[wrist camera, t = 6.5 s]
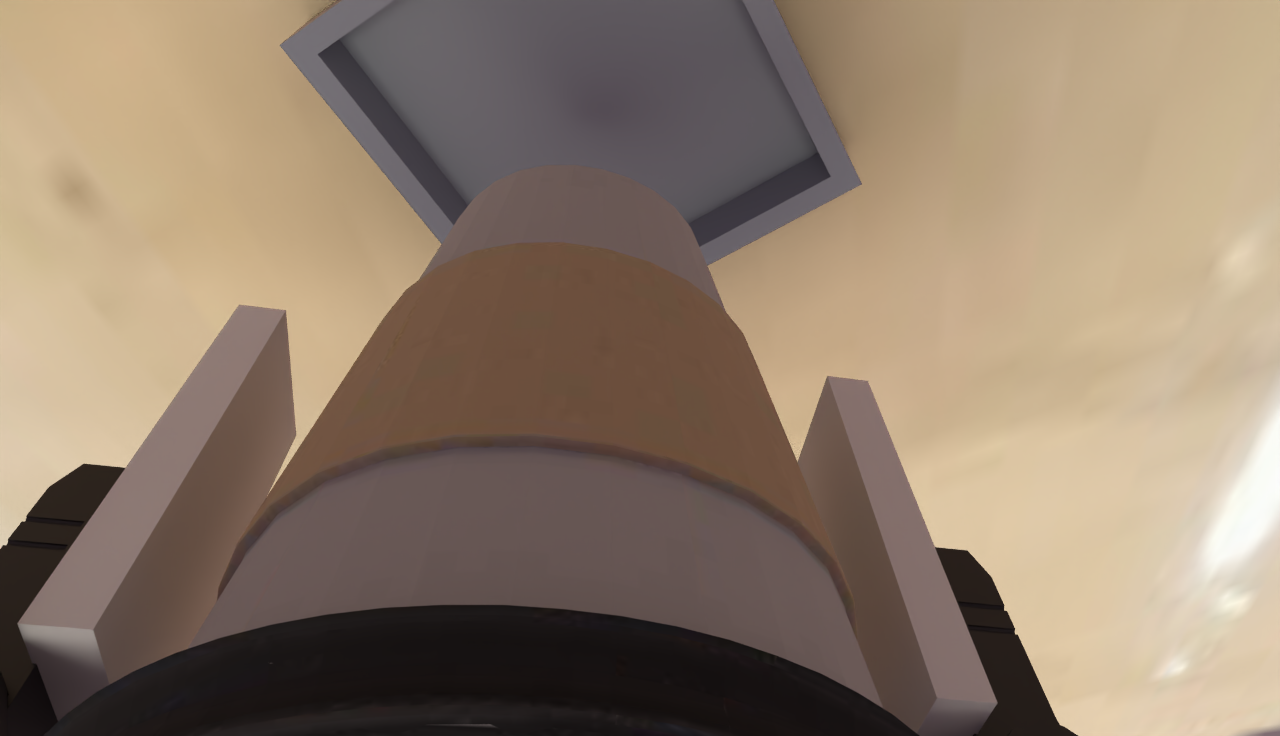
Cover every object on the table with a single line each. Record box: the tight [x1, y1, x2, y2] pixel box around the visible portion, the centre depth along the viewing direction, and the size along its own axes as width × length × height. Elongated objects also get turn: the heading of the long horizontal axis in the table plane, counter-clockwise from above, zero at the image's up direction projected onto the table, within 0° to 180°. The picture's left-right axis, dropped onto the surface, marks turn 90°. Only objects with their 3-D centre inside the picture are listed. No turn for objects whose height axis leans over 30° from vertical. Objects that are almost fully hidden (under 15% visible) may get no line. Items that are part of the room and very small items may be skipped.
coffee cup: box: [43, 165, 919, 736], centre depth 13 cm, size 9×9×15 cm
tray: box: [280, 0, 862, 265], centre depth 29 cm, size 14×14×3 cm
